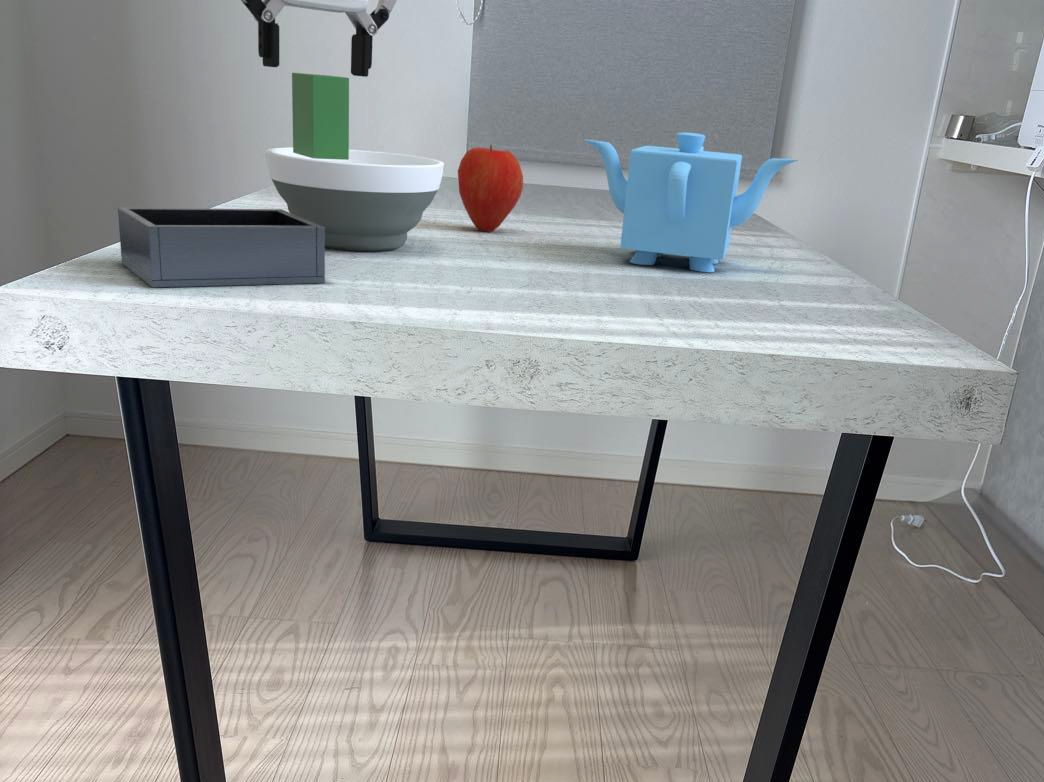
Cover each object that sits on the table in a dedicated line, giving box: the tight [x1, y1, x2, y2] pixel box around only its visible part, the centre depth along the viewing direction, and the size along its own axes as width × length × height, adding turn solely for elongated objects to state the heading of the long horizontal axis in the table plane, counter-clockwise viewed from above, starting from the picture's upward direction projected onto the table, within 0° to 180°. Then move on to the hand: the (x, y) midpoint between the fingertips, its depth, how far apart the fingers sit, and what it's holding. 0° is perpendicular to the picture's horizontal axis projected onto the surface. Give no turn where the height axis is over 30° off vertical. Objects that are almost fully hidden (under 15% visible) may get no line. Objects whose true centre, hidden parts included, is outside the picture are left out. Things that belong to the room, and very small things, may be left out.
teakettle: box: [584, 132, 799, 273], centre depth 126 cm, size 19×19×15 cm
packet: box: [291, 72, 350, 160], centre depth 112 cm, size 6×4×8 cm, turn 32°
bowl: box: [265, 146, 445, 252], centre depth 119 cm, size 20×20×10 cm
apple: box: [457, 144, 524, 233], centre depth 138 cm, size 9×8×11 cm
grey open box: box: [117, 206, 326, 289], centre depth 98 cm, size 16×12×5 cm
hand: (316, 71), depth 110 cm, fingers open, 9 cm apart
